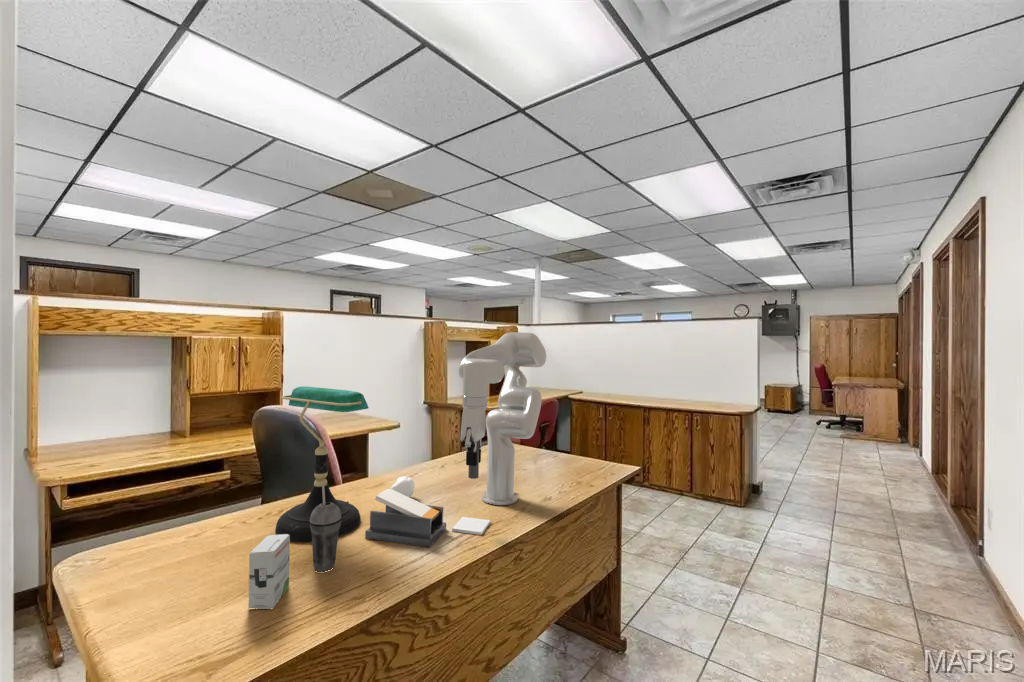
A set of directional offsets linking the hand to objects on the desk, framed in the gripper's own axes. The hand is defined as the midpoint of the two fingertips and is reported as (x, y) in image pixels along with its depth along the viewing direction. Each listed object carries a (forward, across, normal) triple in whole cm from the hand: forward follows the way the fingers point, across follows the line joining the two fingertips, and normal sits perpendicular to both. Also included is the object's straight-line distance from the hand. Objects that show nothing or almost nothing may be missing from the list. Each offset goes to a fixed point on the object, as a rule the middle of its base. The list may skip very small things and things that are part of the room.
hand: (473, 463), depth 133 cm
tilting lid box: (+19, +10, -16) cm, 27 cm away
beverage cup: (+19, +33, -26) cm, 46 cm away
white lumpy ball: (+19, -15, -30) cm, 39 cm away
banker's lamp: (+19, +12, -43) cm, 49 cm away
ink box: (+19, +47, -29) cm, 58 cm away
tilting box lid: (+11, +10, -16) cm, 22 cm away
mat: (+19, 0, 0) cm, 19 cm away
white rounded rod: (+4, 0, 0) cm, 4 cm away
